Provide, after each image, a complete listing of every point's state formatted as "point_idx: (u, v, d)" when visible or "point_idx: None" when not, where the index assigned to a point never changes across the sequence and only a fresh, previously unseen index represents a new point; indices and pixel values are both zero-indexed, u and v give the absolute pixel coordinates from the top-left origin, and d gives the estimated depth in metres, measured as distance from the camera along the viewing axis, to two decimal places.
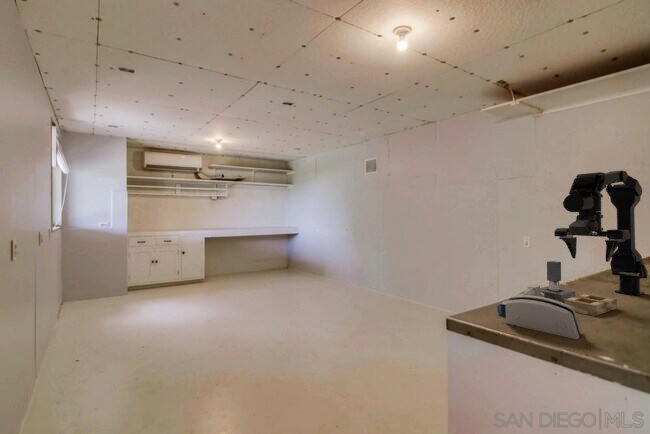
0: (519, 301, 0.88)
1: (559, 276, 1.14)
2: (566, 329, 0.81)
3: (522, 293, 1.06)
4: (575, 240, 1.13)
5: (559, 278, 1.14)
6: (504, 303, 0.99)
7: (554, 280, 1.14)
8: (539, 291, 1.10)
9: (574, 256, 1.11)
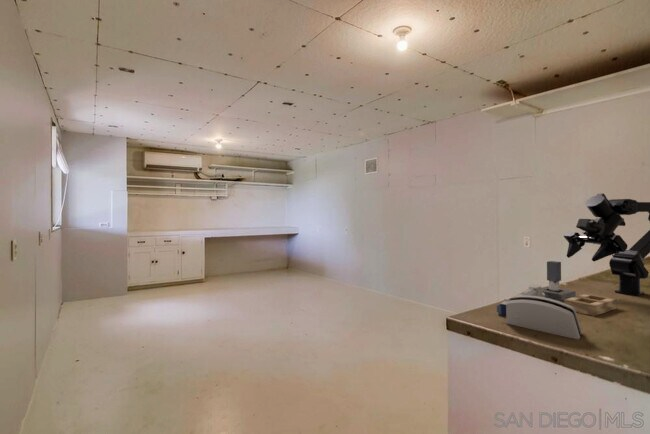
0: (520, 301, 0.87)
1: (559, 276, 1.14)
2: (567, 329, 0.81)
3: (522, 293, 1.06)
4: (579, 248, 1.22)
5: (559, 278, 1.14)
6: (504, 303, 1.00)
7: (554, 280, 1.14)
8: (540, 291, 1.10)
9: (569, 255, 1.20)
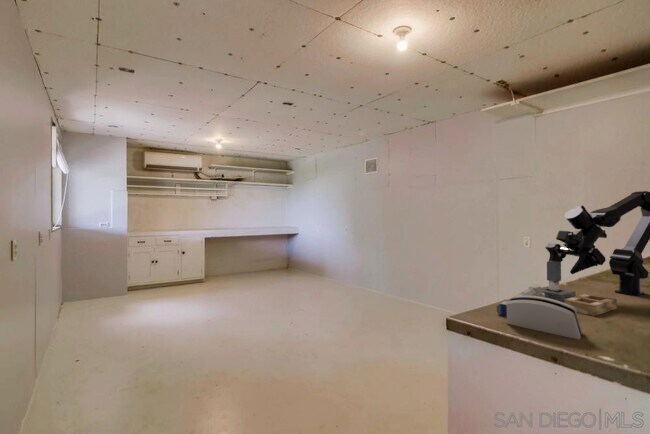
0: (521, 301, 0.87)
1: (559, 276, 1.14)
2: (568, 329, 0.81)
3: (522, 293, 1.06)
4: (560, 260, 1.22)
5: (559, 278, 1.14)
6: (503, 303, 0.99)
7: (554, 280, 1.14)
8: (540, 291, 1.10)
9: None
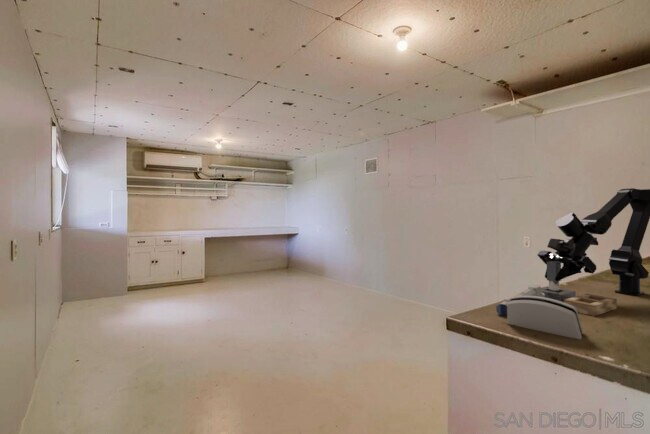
0: (521, 301, 0.87)
1: None
2: (569, 329, 0.81)
3: (522, 293, 1.06)
4: None
5: None
6: (503, 303, 0.99)
7: (554, 280, 1.14)
8: (540, 291, 1.10)
9: None
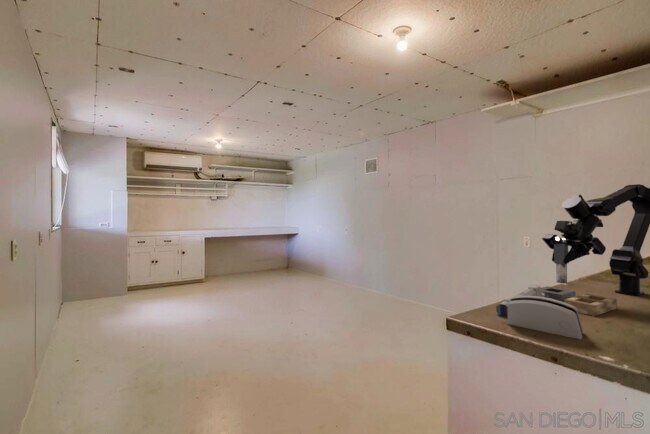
0: (522, 302, 0.87)
1: None
2: (569, 329, 0.81)
3: (522, 293, 1.06)
4: None
5: None
6: (503, 303, 0.99)
7: (562, 263, 1.11)
8: (539, 291, 1.10)
9: None
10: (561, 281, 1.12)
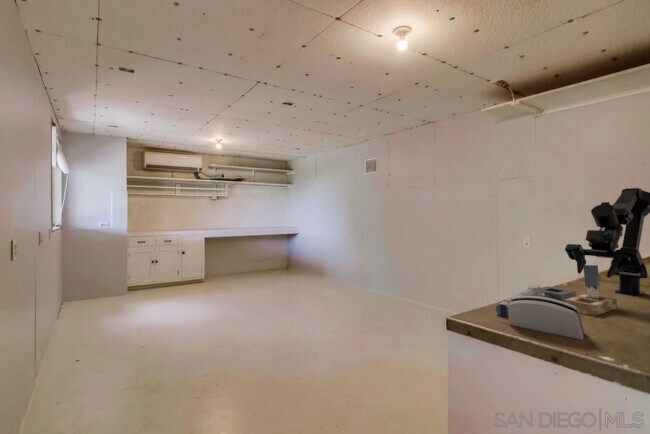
0: (523, 302, 0.87)
1: (598, 281, 1.05)
2: (571, 330, 0.81)
3: (522, 293, 1.06)
4: (585, 262, 1.11)
5: (598, 283, 1.05)
6: (503, 303, 0.99)
7: (594, 285, 1.04)
8: (539, 291, 1.10)
9: (579, 271, 1.07)
10: None
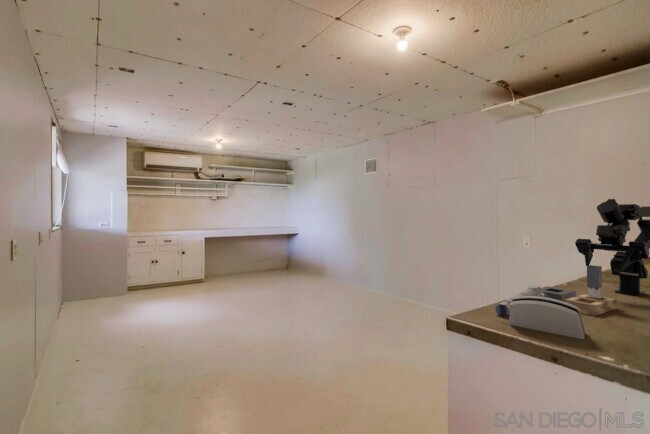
0: (524, 302, 0.87)
1: (600, 282, 1.04)
2: (572, 330, 0.81)
3: (521, 293, 1.06)
4: (592, 255, 1.17)
5: (600, 284, 1.04)
6: (503, 303, 0.99)
7: (596, 287, 1.03)
8: (539, 292, 1.10)
9: (587, 264, 1.14)
10: None
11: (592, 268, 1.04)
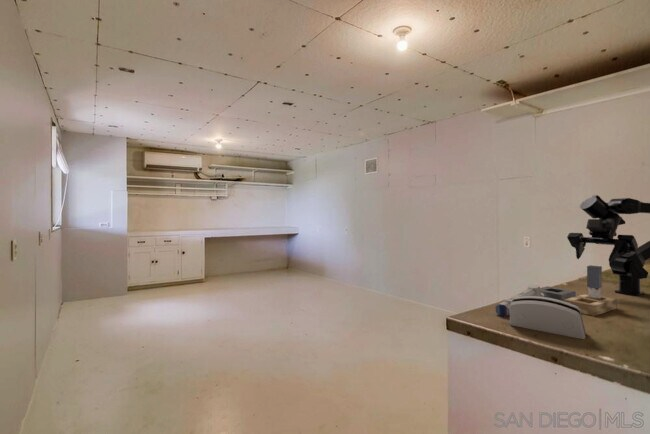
0: (525, 302, 0.86)
1: (600, 282, 1.04)
2: (573, 330, 0.81)
3: (521, 293, 1.06)
4: (583, 249, 1.21)
5: (600, 284, 1.04)
6: (502, 303, 0.99)
7: (596, 287, 1.03)
8: (539, 292, 1.09)
9: (578, 256, 1.18)
10: None
11: (592, 268, 1.04)
